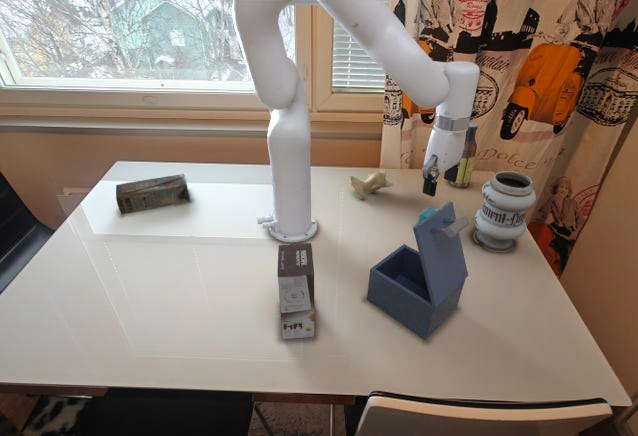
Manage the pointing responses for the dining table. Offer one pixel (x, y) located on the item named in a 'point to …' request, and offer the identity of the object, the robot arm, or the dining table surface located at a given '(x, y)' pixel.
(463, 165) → the sauce bottle
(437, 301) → the lid
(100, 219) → the dining table surface
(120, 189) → the beverage carton
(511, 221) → the apothecary jar
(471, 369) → the dining table surface
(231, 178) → the dining table surface
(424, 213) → the block
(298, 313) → the coffee box
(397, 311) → the compartment
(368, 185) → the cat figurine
